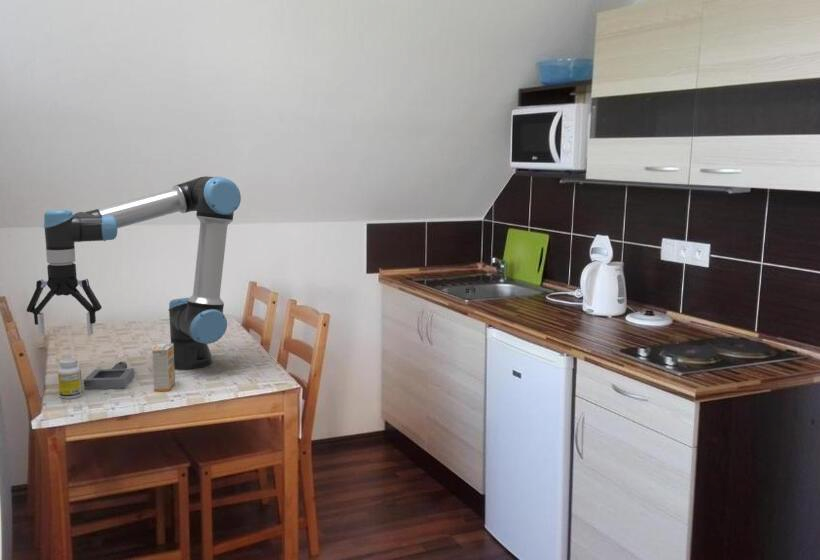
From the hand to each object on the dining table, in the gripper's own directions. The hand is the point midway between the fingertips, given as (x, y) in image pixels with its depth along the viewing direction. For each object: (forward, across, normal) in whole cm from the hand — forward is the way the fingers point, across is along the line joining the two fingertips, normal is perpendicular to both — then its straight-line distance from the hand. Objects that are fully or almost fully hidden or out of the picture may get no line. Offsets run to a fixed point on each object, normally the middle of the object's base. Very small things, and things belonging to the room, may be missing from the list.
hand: (66, 335), depth 219 cm
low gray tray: (+19, -8, -17) cm, 27 cm away
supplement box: (+19, -26, -6) cm, 33 cm away
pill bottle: (+19, 0, 0) cm, 19 cm away
